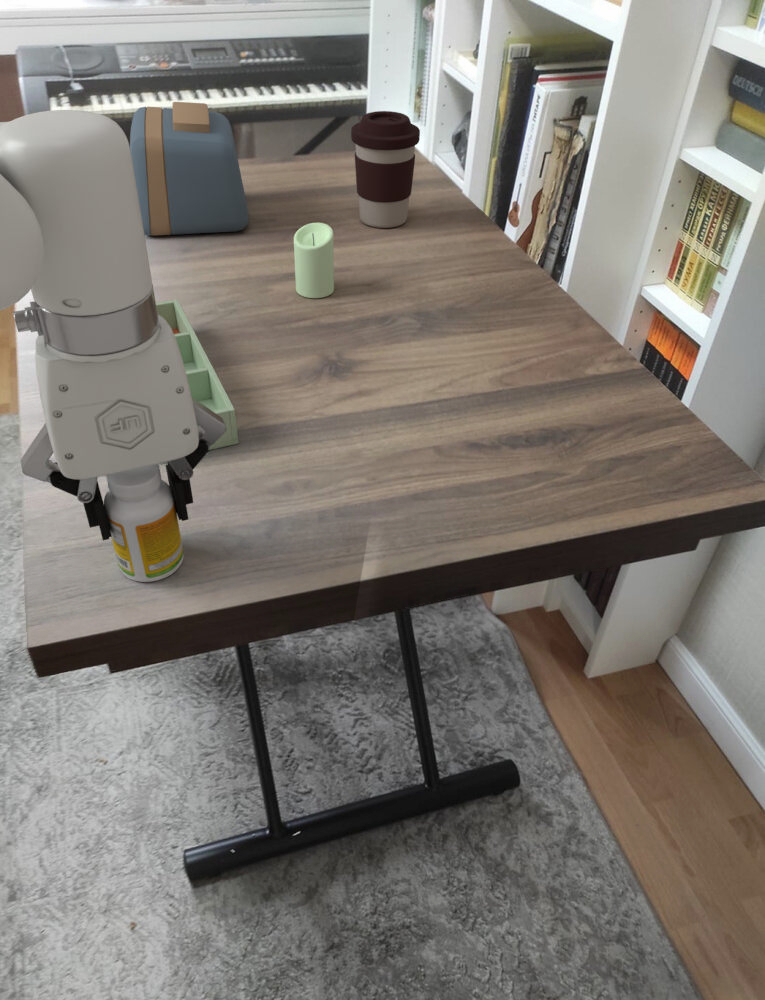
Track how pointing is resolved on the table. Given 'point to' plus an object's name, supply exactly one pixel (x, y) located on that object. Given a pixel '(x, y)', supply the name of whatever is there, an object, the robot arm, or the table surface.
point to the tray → (200, 371)
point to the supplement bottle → (143, 524)
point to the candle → (314, 260)
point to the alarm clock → (186, 171)
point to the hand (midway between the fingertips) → (142, 517)
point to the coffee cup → (384, 166)
